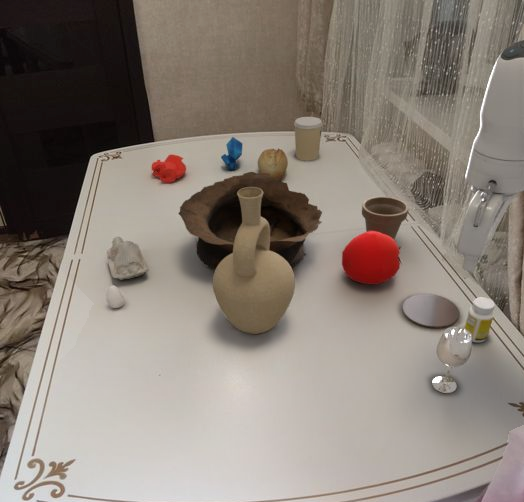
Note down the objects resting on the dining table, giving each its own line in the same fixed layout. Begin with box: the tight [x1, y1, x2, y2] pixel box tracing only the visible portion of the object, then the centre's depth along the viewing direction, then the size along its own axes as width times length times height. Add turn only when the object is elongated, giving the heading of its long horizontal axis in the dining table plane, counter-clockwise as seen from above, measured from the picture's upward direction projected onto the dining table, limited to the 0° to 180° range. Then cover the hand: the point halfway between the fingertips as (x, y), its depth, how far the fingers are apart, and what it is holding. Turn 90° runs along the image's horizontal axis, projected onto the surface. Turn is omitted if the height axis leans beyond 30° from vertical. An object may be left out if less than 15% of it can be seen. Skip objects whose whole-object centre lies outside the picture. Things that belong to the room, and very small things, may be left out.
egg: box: [105, 284, 126, 309], centre depth 122 cm, size 4×4×6 cm
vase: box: [212, 187, 296, 335], centre depth 108 cm, size 17×17×30 cm
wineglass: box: [431, 326, 473, 394], centre depth 98 cm, size 6×6×12 cm
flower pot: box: [361, 196, 410, 240], centre depth 140 cm, size 12×11×10 cm
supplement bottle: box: [464, 296, 496, 343], centre depth 110 cm, size 5×5×8 cm
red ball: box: [341, 231, 403, 285], centre depth 126 cm, size 13×13×13 cm
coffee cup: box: [293, 116, 323, 162], centre depth 185 cm, size 9×9×12 cm
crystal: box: [220, 136, 243, 171], centre depth 181 cm, size 7×9×12 cm
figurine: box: [106, 236, 149, 281], centre depth 132 cm, size 15×11×8 cm
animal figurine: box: [150, 153, 187, 183], centre depth 178 cm, size 12×15×5 cm
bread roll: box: [257, 148, 289, 181], centre depth 175 cm, size 10×15×8 cm, turn 3°
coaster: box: [401, 293, 460, 330], centre depth 119 cm, size 12×12×1 cm
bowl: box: [178, 171, 323, 271], centre depth 136 cm, size 34×33×15 cm
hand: (476, 254), depth 86 cm, fingers open, 8 cm apart
